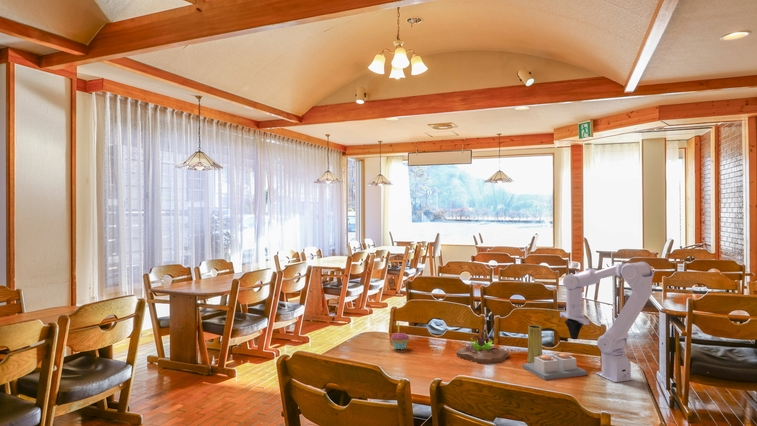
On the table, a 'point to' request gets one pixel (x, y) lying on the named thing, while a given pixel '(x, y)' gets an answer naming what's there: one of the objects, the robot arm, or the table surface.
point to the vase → (534, 342)
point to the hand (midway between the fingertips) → (574, 338)
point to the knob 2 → (564, 355)
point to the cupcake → (399, 339)
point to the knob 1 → (545, 357)
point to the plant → (482, 351)
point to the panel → (554, 368)
